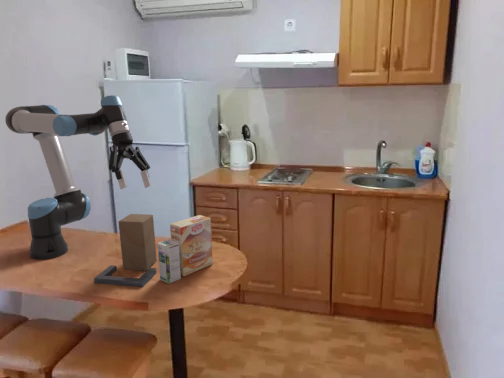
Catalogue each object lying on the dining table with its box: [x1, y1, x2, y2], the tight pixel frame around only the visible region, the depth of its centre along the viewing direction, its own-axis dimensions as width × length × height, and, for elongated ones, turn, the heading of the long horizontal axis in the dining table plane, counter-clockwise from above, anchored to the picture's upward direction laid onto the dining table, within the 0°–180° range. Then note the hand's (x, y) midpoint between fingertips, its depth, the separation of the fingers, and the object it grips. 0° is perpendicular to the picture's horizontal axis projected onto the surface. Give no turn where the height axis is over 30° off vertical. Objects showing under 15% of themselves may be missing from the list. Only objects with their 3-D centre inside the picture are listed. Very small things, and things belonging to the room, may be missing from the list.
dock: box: [93, 264, 157, 288], centre depth 157 cm, size 19×12×2 cm, turn 78°
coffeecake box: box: [169, 214, 213, 277], centre depth 162 cm, size 15×7×20 cm, turn 137°
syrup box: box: [157, 238, 182, 285], centre depth 153 cm, size 6×6×14 cm
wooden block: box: [118, 213, 158, 272], centre depth 166 cm, size 10×10×20 cm
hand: (136, 187), depth 158 cm, fingers open, 13 cm apart
